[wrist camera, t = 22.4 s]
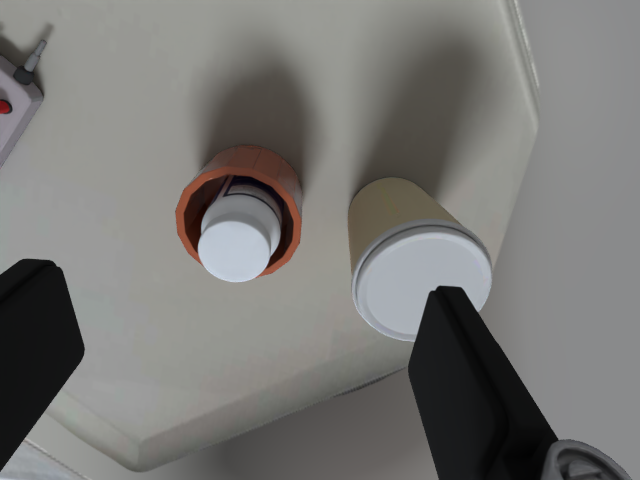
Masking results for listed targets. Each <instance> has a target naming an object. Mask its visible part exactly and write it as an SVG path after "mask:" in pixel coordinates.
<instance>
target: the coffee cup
mask: <svg viewBox="0 0 640 480" xmlns="http://www.w3.org/2000/svg"><path fill="white" fill-rule="evenodd" d="M348 235H349V248H350V260H351V271H352V297H353V300H354V303H355V306H356V308H357V310H358V312H359V314H360V315H361V316H362V318H363V319H364V320H365V321H366V322H367V323H368V324H370V325H371V326H372V327H373V328H374V329H376V330H377V331H379V332H380V333H382V334H384V335H386V336H388V337H391V338H394V339H398V340H404V341H415V340H416V336H417V333H418V329H419V326H420V322H421V319H422V315H423V312H424V308H425V305H426V301H427V298H428V294H429V292H430V291H432V290H434V291H435V290H436V288H437V287H438V286H440V285H441V286H457V287H462V288H463V290H464V291H465V293H466V294H467V296H468V297H469V299H470V301H471V302H472V304H473V305H474V307H475V309H476V310H477V312H479V311H480V310H481V308H482V307H483V305H484V303H485V302H486V300H487V298H488V295H489V292H490V289H491V284H492V263H491V259H490V256H489V253H488V251H487V249H486V247H485V246H484V244H483V243H482V241H481V240H480V239H479V238H478V237H477V236H476V235H475V234H474V233H472V232H471V231H470V230H468V229H467V228H465V227H463V226H462V225H461V224H460V223H459V222H458V221H457V220H456V219H455V218H454V217H453V216H452V215H451V214H449V213H448V212H447V211H446V210H445V209H444V208H443V207H442V206H441V205H439V204H438V203H437V202H436V201H435V200H434V199H433V198H432V197H430V196H429V195H428V194H427V193H426V192H425V191H424V190H422V189H421V188H420V187H419V186H417V185H416V184H414V183H413V182H411V181H409V180H406V179H403V178H397V177H388V178H382V179H379V180H376V181H374V182H371V183H369V184H368V185H366V186H365V187H364V188H362V189H361V190H360V191H359V192H358V194H357V195H356V196H355V197H354V199H353V201H352V203H351V205H350V208H349V212H348Z"/></svg>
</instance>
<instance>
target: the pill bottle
mask: <svg viewBox="0 0 640 480" xmlns="http://www.w3.org/2000/svg"><path fill="white" fill-rule="evenodd" d="M283 211H284V199H283V198H282V197H281V196H280V195H279V194H278V193H277V192H276V191H275V190H274V189H273V188H272V187H271V186H269V185H267V184H265V183H263V182H261V181H259V180H257V179H255V178H253V177H250V176H239V175H229V176H228V177H227V178H226V179H225V180H224V181H223V183H222V184H221V186H220V188H219V190H218V191H217V193H216V195H215V197H214V198H213V200H212V202H211V204H210V205H209V207H208V209H207V210H206V213H205V215H204V217H203V220H202V225H201V234H202V235H201V237H200V239H199V243H198V254H199V258H200V260H201V262H202V264H203V266H204V267H205V268H206V269H207V270H208V271H209V272H210V273H211V274H213V275H214V276H216V277H218V278H220V279H222V280H226V281H231V282H243V281H248V280H251V279H253V278H255V277H256V276H258V275H259V274H261V273H262V272H263V271H264V269H265V268H266V266H267V264H268V262H269V259H270V256H271V255H272V254H273V253H274V252H275V250H276V248H277V246H278V244H279V241H280V236H281V228H282V220H283Z"/></svg>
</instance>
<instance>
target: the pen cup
mask: <svg viewBox="0 0 640 480" xmlns="http://www.w3.org/2000/svg"><path fill="white" fill-rule="evenodd" d="M229 175H239V176H250V177H253V178H255V179H257V180H259V181H261V182H263V183H265V184H267V185H269V186H271V187H272V188H273V189H274V190H275V191H276V192H277V193H278V194H279V195H280V196H281V197H282V198H283V199H284V211H283V220H282V228H281V236H280V241H279V244H278V246H277V248H276V250H275V252H274V253H273V254H272V255H271V256H270V259H269V262H268V264H267V266H266V268H265V269H264V271H263V272H262V273H261V274H259V275H258V276H256V277H255V278H257V277H260V276H264V275H268V274H271V273H273V272H274V271H276V270H277V269H279V268H280V267H281V266H283V265H284V264H285V263H287V262H288V261H289V260H290V259H291V257H292V255H293V253H294V252H295V250H296V248H297V247H298V245H299V243H300V235H301V224H302V190H301V186H300V182H299V180H298V177H297V175H296V173H295V172H294V170H293V169H292V167H291V166H290V165H289V164H288V163H287V162H286V161H285V160H284V159H283V158H282V157H281V156H279V155H278V154H276V153H274V152H273V151H271V150H268V149H266V148H263V147H259V146H253V145H240V146H234V147H230V148H228V149H225V150H223V151H221V152H219V153H218V154H217V155H216V156H214V157H213V158H212V159H211V160H210V161H209V162H208V163H207V164H206V165H205V166H204V167H203V168H202V169H201V170H200V171H199V173H198V174H197V175H196V176H195V177H194V178H193V180H192V181H191V182H190V183H189V184H188V185H187V186H186V188H185V189H184V190H183V192H182V195H181V198H180V200H179V203H178V205H177V208H176V211H175V213H176V224H177V233H178V236H179V237H180V239H181V241H182V243H183V245H184V247H185V248H186V250H187V252H188V253H189V254H190V255H191V256H192V257H193V258H194V259H195V260H197V261H198V262H199V263H200V264H201V265H202V266H203V264H202V262H201V260H200V258H199V254H198V243H199V239H200V237H201V235H202V234H201V225H202V220H203V217H204V215H205V213H206V210H207V209H208V207H209V205H210V204H211V202H212V200H213V198H214V197H215V195H216V193H217V191H218V190H219V188H220V186H221V184H222V183H223V181H224V180H225V179H226V178H227V177H228V176H229Z"/></svg>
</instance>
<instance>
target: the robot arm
mask: <svg viewBox="0 0 640 480" xmlns="http://www.w3.org/2000/svg"><path fill="white" fill-rule="evenodd" d="M84 351H85V348H84V343H83V340H82V336H81V333H80V329H79V326H78V322H77V319H76V315H75V312H74V308H73V305H72V302H71V298H70V295H69V291H68V288H67V284H66V281H65V277H64V274H63V271H62V269H61V268H60V267H57V266H56V264H55V263H54V262H53V261H50V260H39V259H22V260H20V261H18V262H17V263H16V264H14V265H13V266H12V267H10V268H9V269H8V270H6V271H5V272H3V273H2V274H1V275H0V472H1V470H2V469H3V467H4V466H5V465H6V463H7V462H8V461H9V459H10V458H11V456H12V455H13V454H14V452H15V451H16V450H17V448H18V447H19V445H20V444H21V443H22V441H23V440H24V439H25V437H26V436H27V435H28V433H29V432H30V430H31V429H32V428H33V426H34V425H35V424H36V422H37V421H38V419H39V418H40V417H41V415H42V414H43V413H44V411H45V410H46V409H47V407H48V406H49V404H50V403H51V402H52V400H53V399H54V398H55V396H56V395H57V393H58V392H59V391H60V389H61V388H62V387H63V385H64V384H65V383H66V381H67V380H68V378H69V377H70V376H71V374H72V373H73V372H74V370H75V369H76V367H77V366H78V365H79V363H80V362H81V360H82V358H83V356H84ZM408 373H409V378H410V382H411V385H412V389H413V392H414V395H415V399H416V403H417V406H418V409H419V413H420V416H421V419H422V423H423V426H424V430H425V433H426V436H427V440H428V443H429V447H430V450H431V453H432V457H433V461H434V464H435V467H436V471H437V474H438V478H439V480H632V479H631V478H630V476H629V475H628V474H627V473H626V471H625V470H624V469H623V468H622V467H620V466H619V465H618V464H617V463H616V462H615V461H614V460H612V458H610V457H609V456H607V455H606V454H604V453H603V452H601V451H600V450H598V449H597V448H594V447H592V446H590V445H588V444H586V443H583V442H579V441H575V440H571V439H568V440H558V438H557V437H556V435H555V433H554V432H553V430H552V429H551V427H550V425H549V424H548V422H547V421H546V419H545V417H544V416H543V414H542V413H541V411H540V409H539V408H538V406H537V405H536V403H535V402H534V400H533V398H532V397H531V395H530V393H529V392H528V390H527V389H526V387H525V385H524V384H523V382H522V381H521V379H520V377H519V376H518V374H517V373H516V371H515V369H514V368H513V366H512V365H511V363H510V361H509V360H508V358H507V357H506V355H505V354H504V352H503V350H502V349H501V347H500V346H499V344H498V343H497V342H496V341H495V339H494V338H493V336H492V334H491V333H490V332H489V330H488V328H487V327H486V325H485V323H484V322H483V320H482V318H481V317H480V315H479V314H478V312H477V310H476V309H475V307H474V305H473V304H472V302H471V301H470V299H469V297H468V296H467V294H466V293H465V291H464V290H463V288H462V287H457V286H441V285H440V286H438V287H437V288H436V290H435V291H434V290H432V291H430V292H429V294H428V298H427V301H426V305H425V308H424V312H423V315H422V319H421V322H420V326H419V329H418V333H417V336H416V340H415V343H414V347H413V350H412V354H411V357H410V361H409V365H408Z"/></svg>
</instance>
